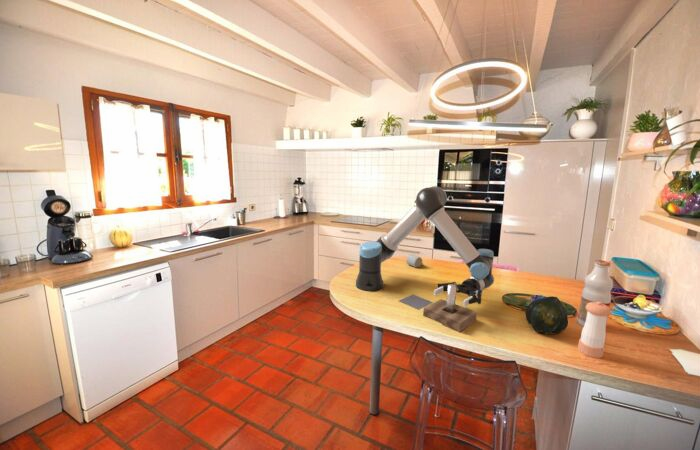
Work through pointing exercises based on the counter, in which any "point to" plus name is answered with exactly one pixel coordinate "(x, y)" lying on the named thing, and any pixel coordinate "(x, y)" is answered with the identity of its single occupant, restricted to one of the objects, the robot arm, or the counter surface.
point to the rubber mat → (415, 302)
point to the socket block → (450, 315)
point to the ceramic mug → (414, 260)
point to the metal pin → (451, 298)
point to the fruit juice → (596, 289)
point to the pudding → (537, 297)
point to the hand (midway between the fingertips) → (448, 298)
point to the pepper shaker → (594, 330)
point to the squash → (547, 315)
